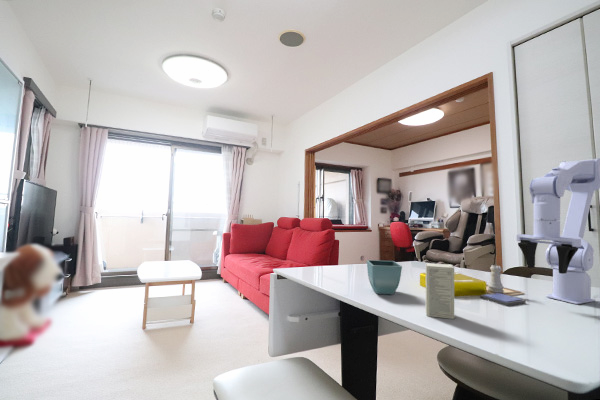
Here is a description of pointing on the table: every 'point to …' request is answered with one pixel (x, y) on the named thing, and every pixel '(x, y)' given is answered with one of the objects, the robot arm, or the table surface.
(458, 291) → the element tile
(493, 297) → the ink pad
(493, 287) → the rook chess piece
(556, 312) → the table surface
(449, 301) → the skincare box
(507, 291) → the mat
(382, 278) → the flower pot
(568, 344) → the table surface
